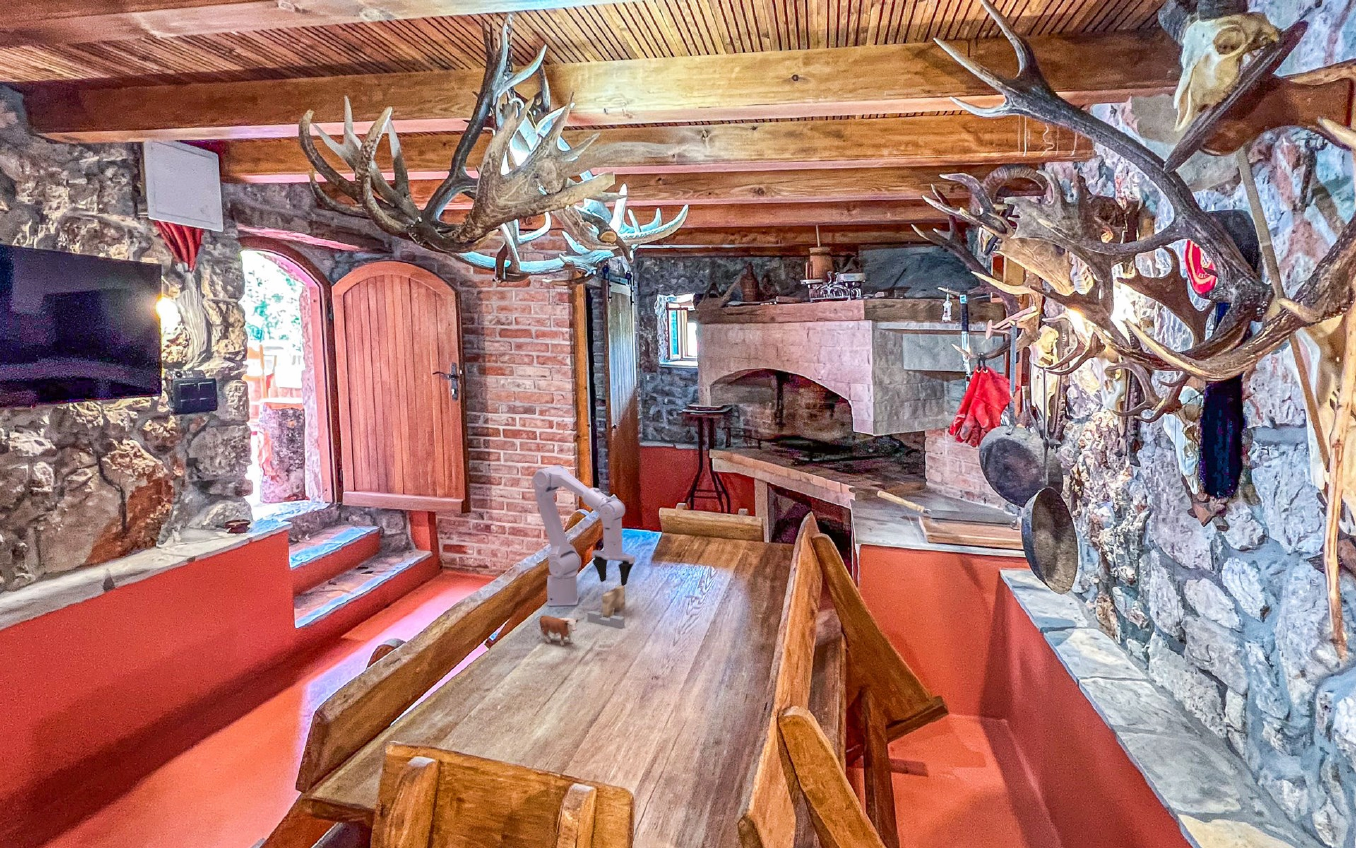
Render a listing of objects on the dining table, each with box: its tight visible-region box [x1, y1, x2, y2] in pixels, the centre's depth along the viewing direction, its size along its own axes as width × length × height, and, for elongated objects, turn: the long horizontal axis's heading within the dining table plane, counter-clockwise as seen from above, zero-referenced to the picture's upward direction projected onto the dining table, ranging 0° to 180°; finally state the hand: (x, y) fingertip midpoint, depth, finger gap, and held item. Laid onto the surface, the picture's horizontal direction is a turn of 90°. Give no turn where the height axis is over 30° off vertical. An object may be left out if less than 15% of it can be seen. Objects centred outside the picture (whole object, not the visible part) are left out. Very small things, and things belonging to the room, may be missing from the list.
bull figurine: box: [539, 614, 579, 647], centre depth 211 cm, size 4×13×8 cm, turn 58°
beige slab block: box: [601, 584, 626, 618], centre depth 233 cm, size 10×2×7 cm, turn 152°
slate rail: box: [586, 610, 626, 629], centre depth 224 cm, size 12×2×3 cm, turn 62°
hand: (613, 582), depth 232 cm, fingers open, 7 cm apart
